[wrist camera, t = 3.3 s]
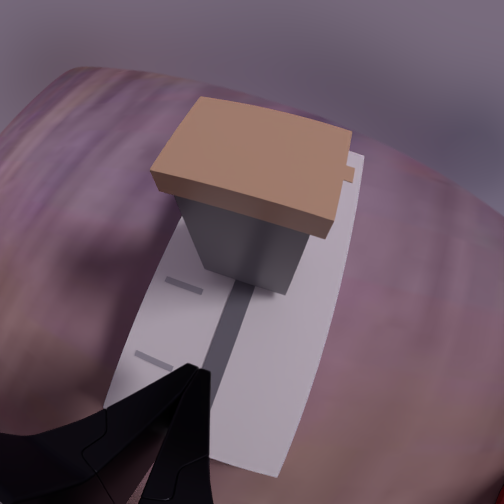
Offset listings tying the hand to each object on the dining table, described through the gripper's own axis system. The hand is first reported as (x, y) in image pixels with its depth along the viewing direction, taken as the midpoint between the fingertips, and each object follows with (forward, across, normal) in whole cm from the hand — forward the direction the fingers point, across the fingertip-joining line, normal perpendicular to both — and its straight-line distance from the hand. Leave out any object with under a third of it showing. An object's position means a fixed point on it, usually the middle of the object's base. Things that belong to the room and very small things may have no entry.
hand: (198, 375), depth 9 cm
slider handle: (+7, 0, -2) cm, 7 cm away
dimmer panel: (+8, 0, +1) cm, 9 cm away
